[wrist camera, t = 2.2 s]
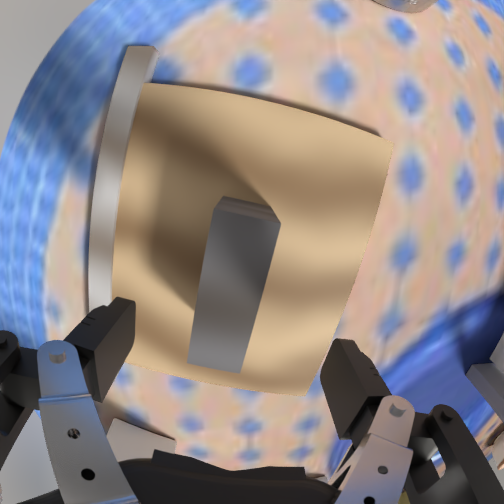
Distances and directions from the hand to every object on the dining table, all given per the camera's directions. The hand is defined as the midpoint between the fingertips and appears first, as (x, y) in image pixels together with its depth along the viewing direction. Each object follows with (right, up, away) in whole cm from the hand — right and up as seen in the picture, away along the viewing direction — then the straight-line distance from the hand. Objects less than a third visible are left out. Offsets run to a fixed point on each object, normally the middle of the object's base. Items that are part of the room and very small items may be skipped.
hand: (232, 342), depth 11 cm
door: (0, +3, +8) cm, 9 cm away
